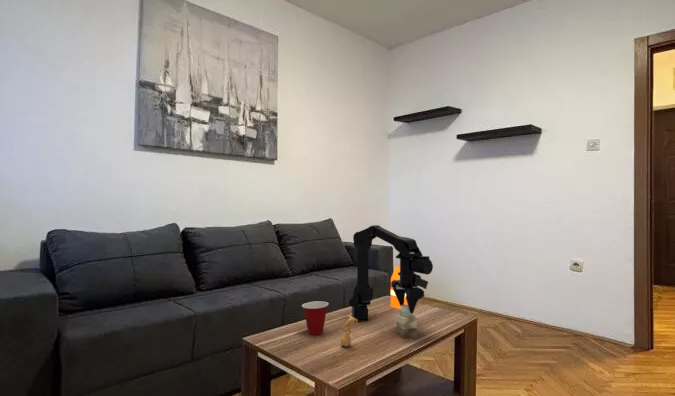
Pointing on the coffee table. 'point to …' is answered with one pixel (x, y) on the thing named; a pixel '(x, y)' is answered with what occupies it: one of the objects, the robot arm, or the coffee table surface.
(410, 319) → the birch block
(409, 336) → the walnut block
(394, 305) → the orange juice
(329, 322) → the coffee table surface
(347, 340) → the figurine
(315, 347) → the coffee table surface
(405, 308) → the stubby sage cylinder
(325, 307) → the plastic cup
